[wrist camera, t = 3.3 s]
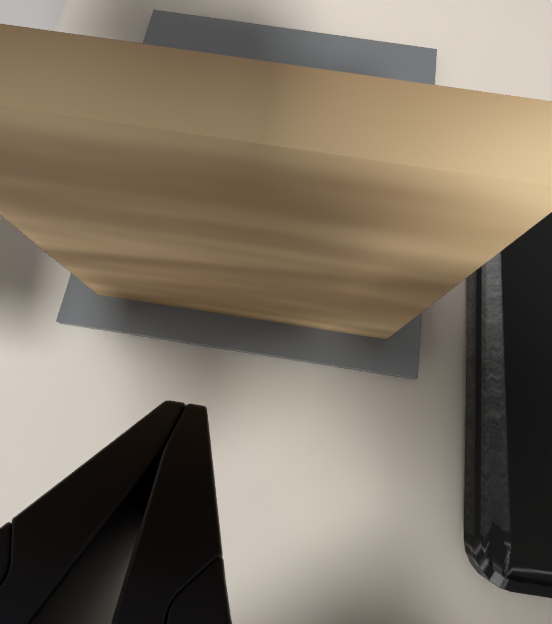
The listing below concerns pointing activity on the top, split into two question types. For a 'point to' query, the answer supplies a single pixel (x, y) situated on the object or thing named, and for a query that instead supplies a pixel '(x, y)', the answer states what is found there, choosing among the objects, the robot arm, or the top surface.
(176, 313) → the charcoal mat
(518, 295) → the phone
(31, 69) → the oak block
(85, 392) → the top surface
